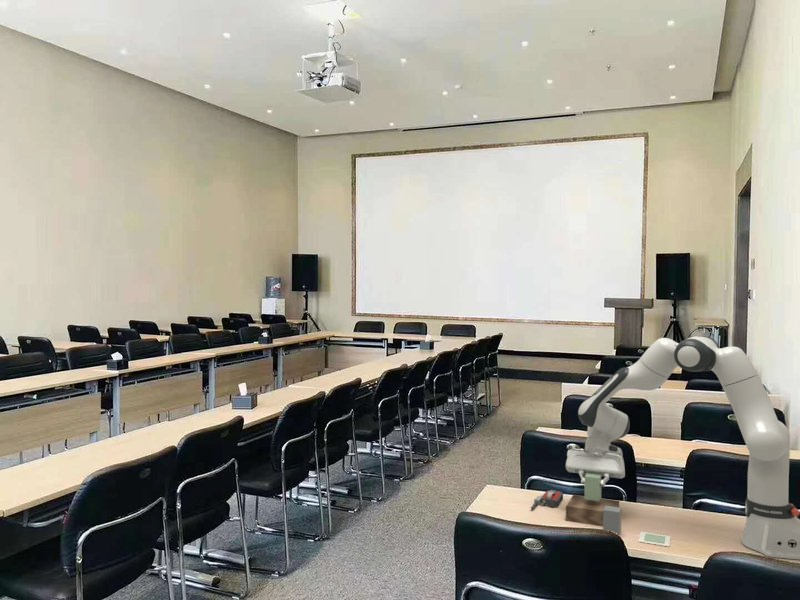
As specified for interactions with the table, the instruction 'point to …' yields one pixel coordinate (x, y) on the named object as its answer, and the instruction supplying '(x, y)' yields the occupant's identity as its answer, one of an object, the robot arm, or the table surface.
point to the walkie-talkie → (549, 499)
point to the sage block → (592, 487)
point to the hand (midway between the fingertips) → (592, 484)
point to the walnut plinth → (587, 510)
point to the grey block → (612, 519)
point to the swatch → (654, 539)
